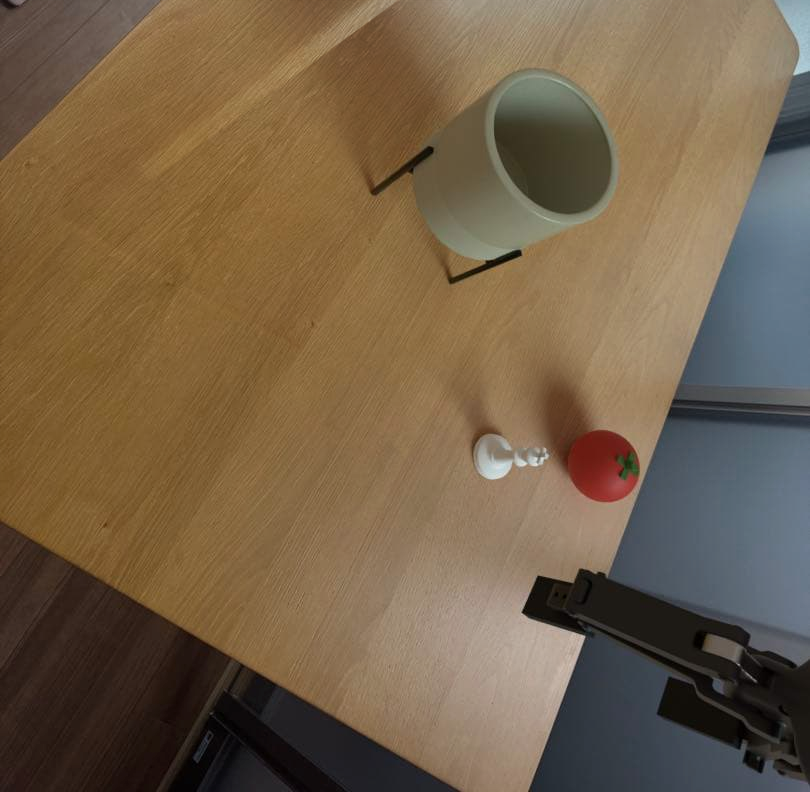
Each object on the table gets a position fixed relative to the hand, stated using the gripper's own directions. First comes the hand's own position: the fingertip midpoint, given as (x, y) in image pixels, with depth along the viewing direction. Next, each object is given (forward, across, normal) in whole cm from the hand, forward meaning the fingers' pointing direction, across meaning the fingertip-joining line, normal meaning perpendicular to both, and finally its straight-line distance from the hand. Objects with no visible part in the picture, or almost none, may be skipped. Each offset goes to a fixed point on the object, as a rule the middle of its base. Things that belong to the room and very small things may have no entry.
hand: (601, 648), depth 51 cm
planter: (+27, +21, -35) cm, 49 cm away
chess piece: (+27, 0, -16) cm, 31 cm away
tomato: (+27, -11, -22) cm, 36 cm away
